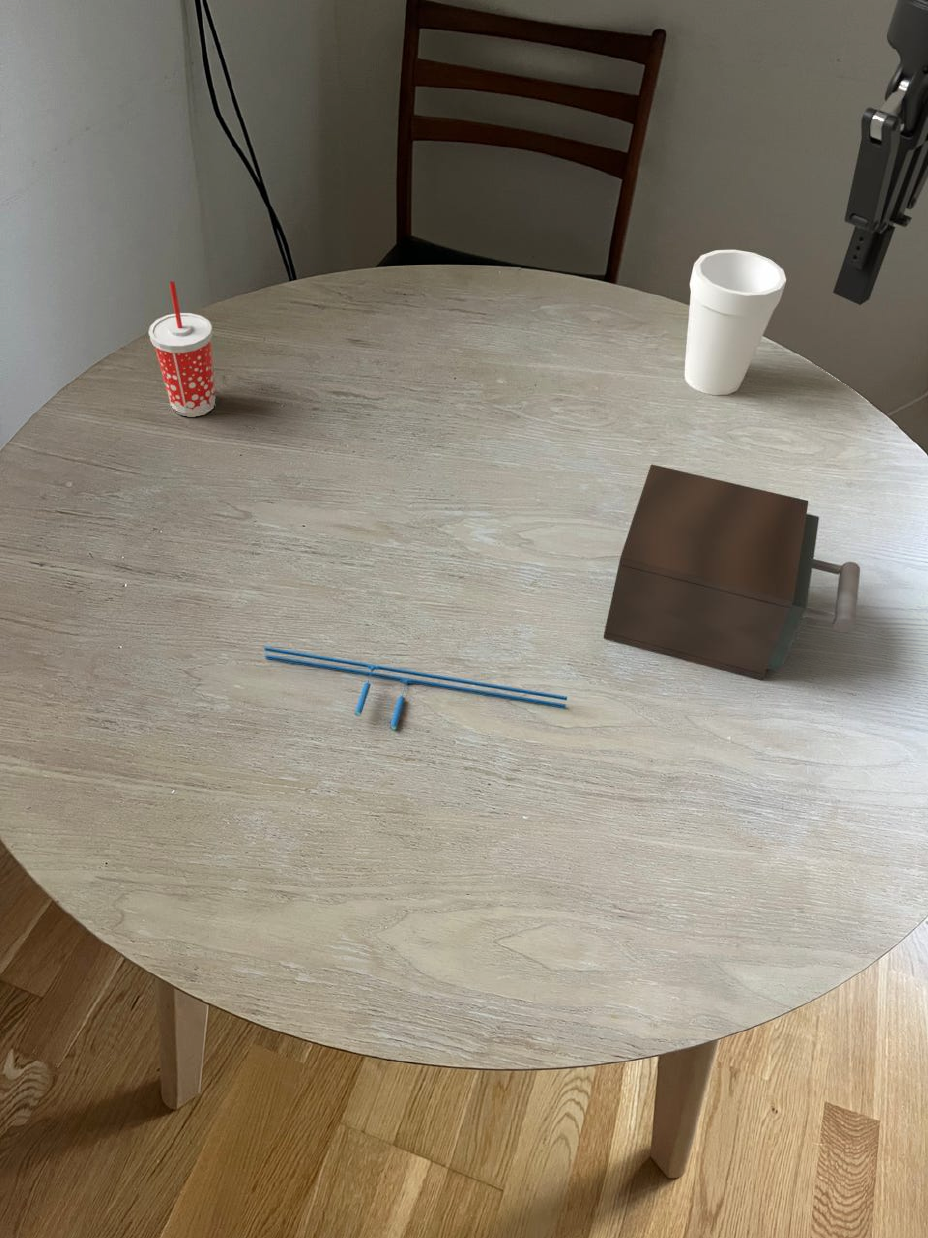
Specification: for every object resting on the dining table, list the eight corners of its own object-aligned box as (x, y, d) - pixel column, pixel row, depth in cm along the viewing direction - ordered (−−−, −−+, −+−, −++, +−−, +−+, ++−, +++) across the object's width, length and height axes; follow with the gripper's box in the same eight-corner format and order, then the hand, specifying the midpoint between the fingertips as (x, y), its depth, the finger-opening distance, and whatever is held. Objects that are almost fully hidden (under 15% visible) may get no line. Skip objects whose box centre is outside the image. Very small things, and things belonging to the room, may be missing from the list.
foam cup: (655, 363, 118) (677, 256, 109) (724, 349, 121) (751, 243, 112) (699, 410, 112) (726, 301, 103) (770, 394, 115) (803, 286, 106)
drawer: (843, 593, 93) (872, 528, 87) (833, 686, 85) (864, 622, 80) (657, 547, 96) (673, 482, 90) (632, 633, 88) (648, 567, 83)
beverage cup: (230, 391, 111) (213, 269, 101) (213, 425, 107) (193, 302, 97) (174, 384, 112) (151, 263, 101) (155, 418, 107) (129, 294, 97)
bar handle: (560, 746, 79) (567, 695, 83) (244, 692, 81) (264, 645, 85) (558, 758, 80) (565, 707, 84) (245, 704, 82) (266, 657, 86)
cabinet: (778, 580, 95) (808, 500, 88) (761, 680, 87) (793, 600, 80) (633, 544, 97) (651, 463, 90) (603, 638, 89) (620, 557, 82)
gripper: (964, 23, 68) (849, 341, 85) (1049, -15, 74) (926, 287, 91) (863, -8, 71) (772, 304, 88) (952, -41, 78) (851, 255, 95)
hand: (851, 295), depth 90 cm, fingers closed
